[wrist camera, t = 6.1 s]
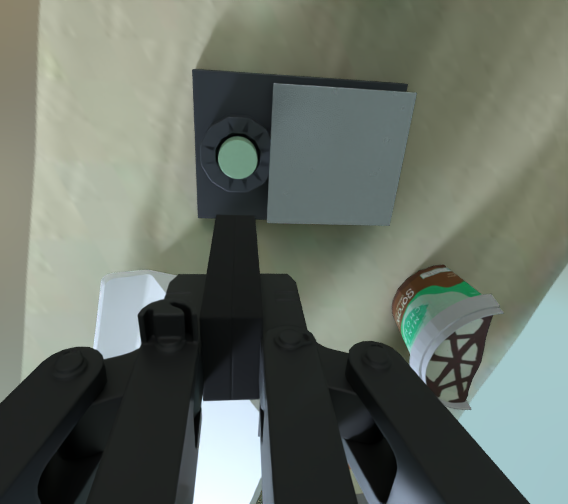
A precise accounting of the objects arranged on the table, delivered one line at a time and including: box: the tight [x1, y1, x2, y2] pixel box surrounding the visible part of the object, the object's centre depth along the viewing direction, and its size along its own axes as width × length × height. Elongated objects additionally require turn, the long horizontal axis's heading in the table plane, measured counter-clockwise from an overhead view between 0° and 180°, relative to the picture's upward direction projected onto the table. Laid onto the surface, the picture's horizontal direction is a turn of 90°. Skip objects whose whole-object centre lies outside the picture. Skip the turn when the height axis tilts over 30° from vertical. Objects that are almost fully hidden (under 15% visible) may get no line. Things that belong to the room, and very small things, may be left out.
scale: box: [192, 69, 408, 220], centre depth 32 cm, size 12×17×3 cm
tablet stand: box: [93, 269, 262, 504], centre depth 36 cm, size 18×25×17 cm
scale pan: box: [267, 83, 417, 226], centre depth 31 cm, size 11×11×1 cm
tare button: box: [218, 136, 258, 179], centre depth 30 cm, size 3×3×2 cm
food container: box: [392, 265, 504, 410], centre depth 38 cm, size 12×6×10 cm, turn 179°
